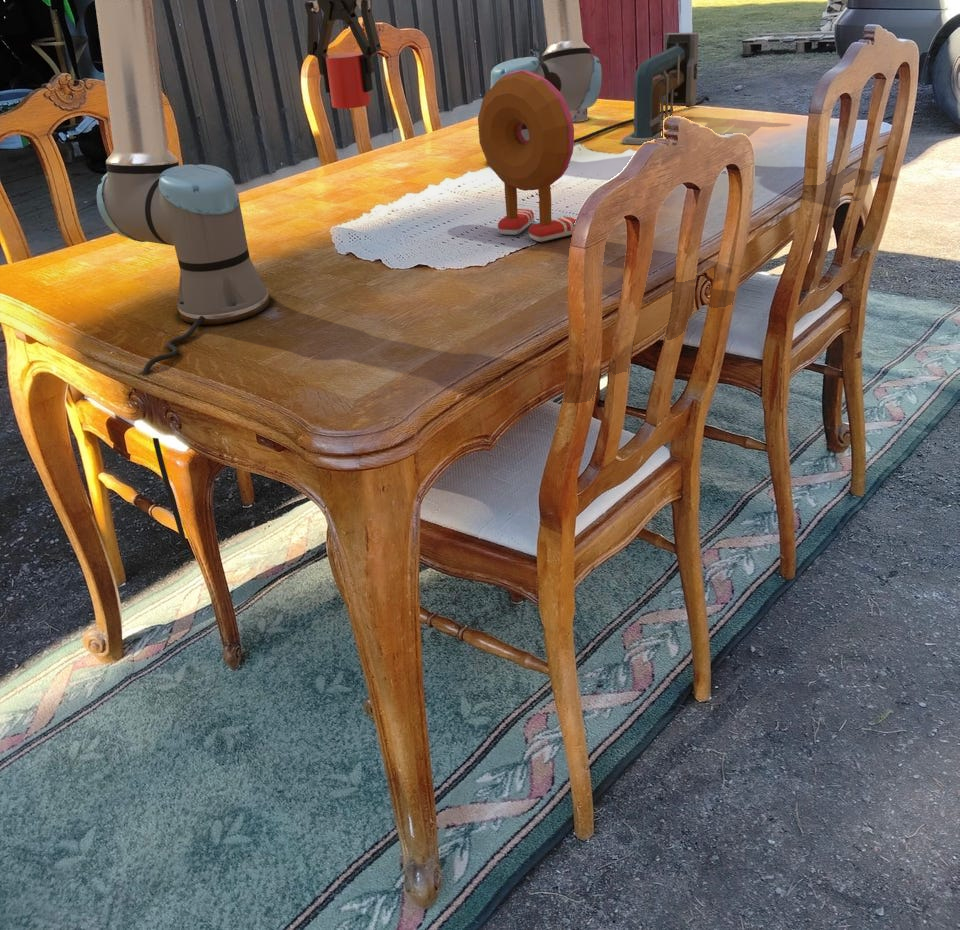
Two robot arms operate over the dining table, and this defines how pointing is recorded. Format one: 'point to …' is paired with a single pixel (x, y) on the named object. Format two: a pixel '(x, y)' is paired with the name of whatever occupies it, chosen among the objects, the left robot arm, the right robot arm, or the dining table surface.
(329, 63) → the can
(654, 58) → the clamp
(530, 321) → the dining table surface
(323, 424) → the dining table surface
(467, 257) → the dining table surface
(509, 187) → the toy
